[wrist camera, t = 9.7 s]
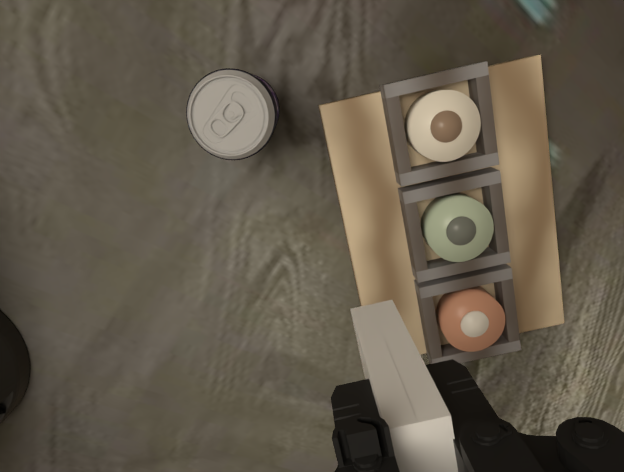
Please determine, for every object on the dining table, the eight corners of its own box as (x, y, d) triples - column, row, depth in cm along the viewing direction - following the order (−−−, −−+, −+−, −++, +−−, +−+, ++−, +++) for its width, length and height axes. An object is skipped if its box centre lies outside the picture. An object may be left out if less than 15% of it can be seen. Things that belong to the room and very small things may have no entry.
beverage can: (293, 109, 43) (294, 116, 31) (247, 157, 44) (231, 181, 32) (244, 58, 41) (225, 46, 30) (197, 109, 42) (162, 116, 31)
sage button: (425, 259, 44) (433, 269, 42) (416, 200, 43) (423, 206, 40) (486, 245, 44) (498, 254, 42) (478, 186, 43) (490, 191, 40)
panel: (371, 358, 49) (378, 381, 46) (317, 99, 43) (319, 100, 39) (554, 318, 49) (576, 337, 45) (528, 50, 42) (552, 46, 38)
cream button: (409, 164, 42) (417, 169, 40) (398, 98, 40) (405, 98, 38) (474, 149, 42) (485, 153, 39) (465, 83, 40) (476, 82, 38)
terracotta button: (440, 344, 47) (448, 358, 44) (431, 291, 45) (439, 302, 43) (497, 331, 47) (509, 345, 44) (490, 278, 45) (502, 289, 43)
